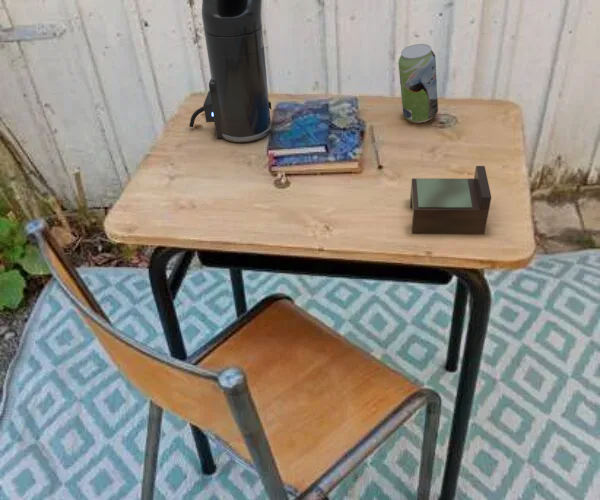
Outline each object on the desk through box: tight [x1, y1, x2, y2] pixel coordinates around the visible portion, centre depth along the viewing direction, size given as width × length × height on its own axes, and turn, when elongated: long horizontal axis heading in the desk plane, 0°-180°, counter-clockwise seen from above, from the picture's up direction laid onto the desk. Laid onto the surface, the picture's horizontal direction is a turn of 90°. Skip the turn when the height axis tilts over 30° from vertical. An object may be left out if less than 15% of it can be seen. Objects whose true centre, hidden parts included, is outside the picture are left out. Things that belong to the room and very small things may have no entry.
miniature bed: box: [409, 165, 492, 235], centre depth 91 cm, size 10×8×6 cm
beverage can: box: [398, 43, 439, 124], centre depth 110 cm, size 6×7×12 cm
